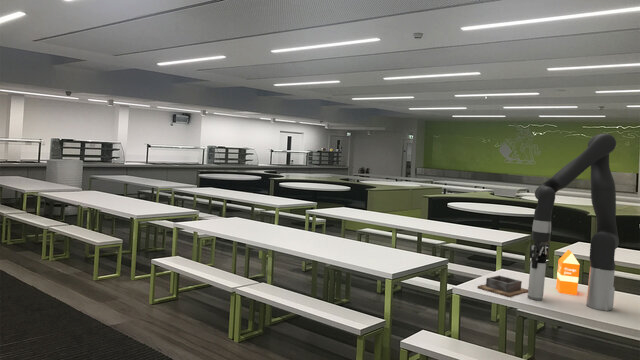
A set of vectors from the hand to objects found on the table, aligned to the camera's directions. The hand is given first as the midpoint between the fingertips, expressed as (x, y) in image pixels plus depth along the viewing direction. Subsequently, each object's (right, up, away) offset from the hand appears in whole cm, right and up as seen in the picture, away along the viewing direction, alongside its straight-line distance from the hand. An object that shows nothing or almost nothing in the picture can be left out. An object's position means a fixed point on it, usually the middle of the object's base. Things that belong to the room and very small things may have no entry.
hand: (538, 267), depth 210 cm
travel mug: (-1, -14, +1) cm, 14 cm away
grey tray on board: (-11, -13, +12) cm, 21 cm away
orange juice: (+21, -15, +16) cm, 31 cm away
